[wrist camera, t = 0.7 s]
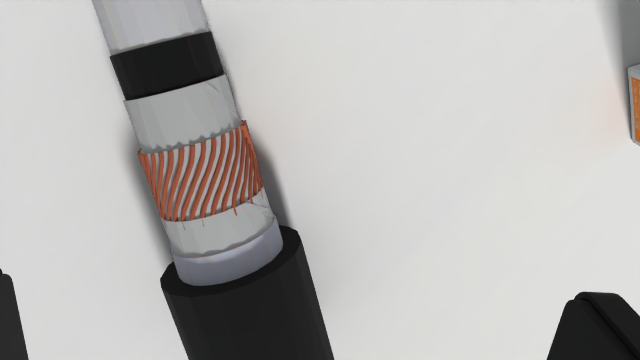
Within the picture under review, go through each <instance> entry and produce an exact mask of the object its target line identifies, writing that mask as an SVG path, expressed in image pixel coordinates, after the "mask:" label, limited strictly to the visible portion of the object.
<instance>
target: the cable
mask: <svg viewBox="0 0 640 360" xmlns="http://www.w3.org/2000/svg"><path fill="white" fill-rule="evenodd" d="M92 2H93V5H94V7H95V10H96V13H97V16H98V19H99V22H100V25H101V27H102V30H103V33H104V36H105V39H106V42H107V45H108V47H109V50H110V53H111V56H110V59H111V62H112V65H113V67H114V70H115V73H116V75H117V78H118V81H119V83H120V86H121V89H122V91H123V94H124V97H125V99H126V100H124V101H123V102H124V104H125V107H126V110H127V112H128V115H129V117H130V120H131V123H132V125H133V128H134V131H135V133H136V136H137V138H138V141H139V144H140V146H141V149H140V151H138V156H139V159H140V161H141V164H142V166H143V168H144V171H145V175H146V178H147V180H148V182H149V185H150V188H151V191H152V193H153V195H154V199H155V202H156V204H157V207H158V209H159V213H160V218H161V220H162V223H163V225H164V228H165V230H166V233H167V235H168V238H169V240H170V243H171V246H170V250H171V254H172V257H173V260H174V261H173V262H172V263H171V264H170V265H168V267H167V268H166V270H165V272H164V273H163V275H162V277H161V278H160V282H161V288H162V290H163V293H164V296H165V298H166V301H167V304H168V306H169V309H170V311H171V314H172V317H173V319H174V322H175V325H176V327H177V330H178V332H179V335H180V338H181V340H182V343H183V346H184V348H185V351H186V353H187V356H188V359H189V360H334V357H333V353H332V349H331V346H330V342H329V339H328V335H327V331H326V328H325V324H324V320H323V317H322V313H321V309H320V306H319V302H318V299H317V295H316V291H315V288H314V284H313V280H312V277H311V273H310V269H309V266H308V262H307V259H306V255H305V251H304V248H303V244H302V241H301V238H300V236H299V234H298V232H297V231H296V230H294V229H292V228H290V227H286V226H280V225H278V222H277V219H276V216H275V215H274V214H273V212H272V211H271V208H270V205H269V202H268V199H267V195H266V192H265V189H264V186H263V182H262V179H261V176H260V173H259V169H258V162H257V158H256V155H255V151H254V148H253V144H252V141H251V137H250V133H249V129H248V126H247V123H246V120H245V121H243V120H241V119H240V116H239V114H238V112H237V109H236V106H235V102H234V99H233V96H232V92H231V89H230V86H229V83H228V79H227V76H226V73H224V72H223V69H222V65H221V62H220V59H219V55H218V52H217V49H216V46H215V42H214V39H213V36H212V32H211V31H210V30H209V27H208V23H207V20H206V17H205V13H204V10H203V7H202V3H201V0H92Z"/></svg>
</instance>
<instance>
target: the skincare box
mask: <svg viewBox="0 0 640 360" xmlns="http://www.w3.org/2000/svg"><path fill="white" fill-rule="evenodd" d="M628 78H629V92H630V105H631V127H632V141H633V142H634V143H636V144H637V145H639V146H640V64H638V65H635V66H631V67H629V68H628Z"/></svg>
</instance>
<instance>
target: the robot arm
mask: <svg viewBox="0 0 640 360" xmlns="http://www.w3.org/2000/svg"><path fill="white" fill-rule="evenodd" d="M0 360H29V359H28V354H27V350H26V345H25V340H24V335H23V330H22V325H21V320H20V315H19V311H18V306H17V301H16V296H15V291H14V286H13V282H12V279H11V277H10V276H9V275H7V274H3V273H2V270H1V269H0ZM547 360H640V316H639V315H638V314H637V313H636V312H635V311H634V310H633V309H632V308H631V307H630V305H629V304H628V303H627V302H626V301H625V300H624V299H623V298H622V297H621V296H619V295H618V294H614V293H600V292H581V293H579V294H577V295H576V296H575V298H574V300H569V301H568V302H567V303H566V305H565V307H564V310H563V313H562V316H561V319H560V322H559V325H558V328H557V331H556V334H555V337H554V339H553V342H552V345H551V348H550V351H549V354H548V357H547Z"/></svg>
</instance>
